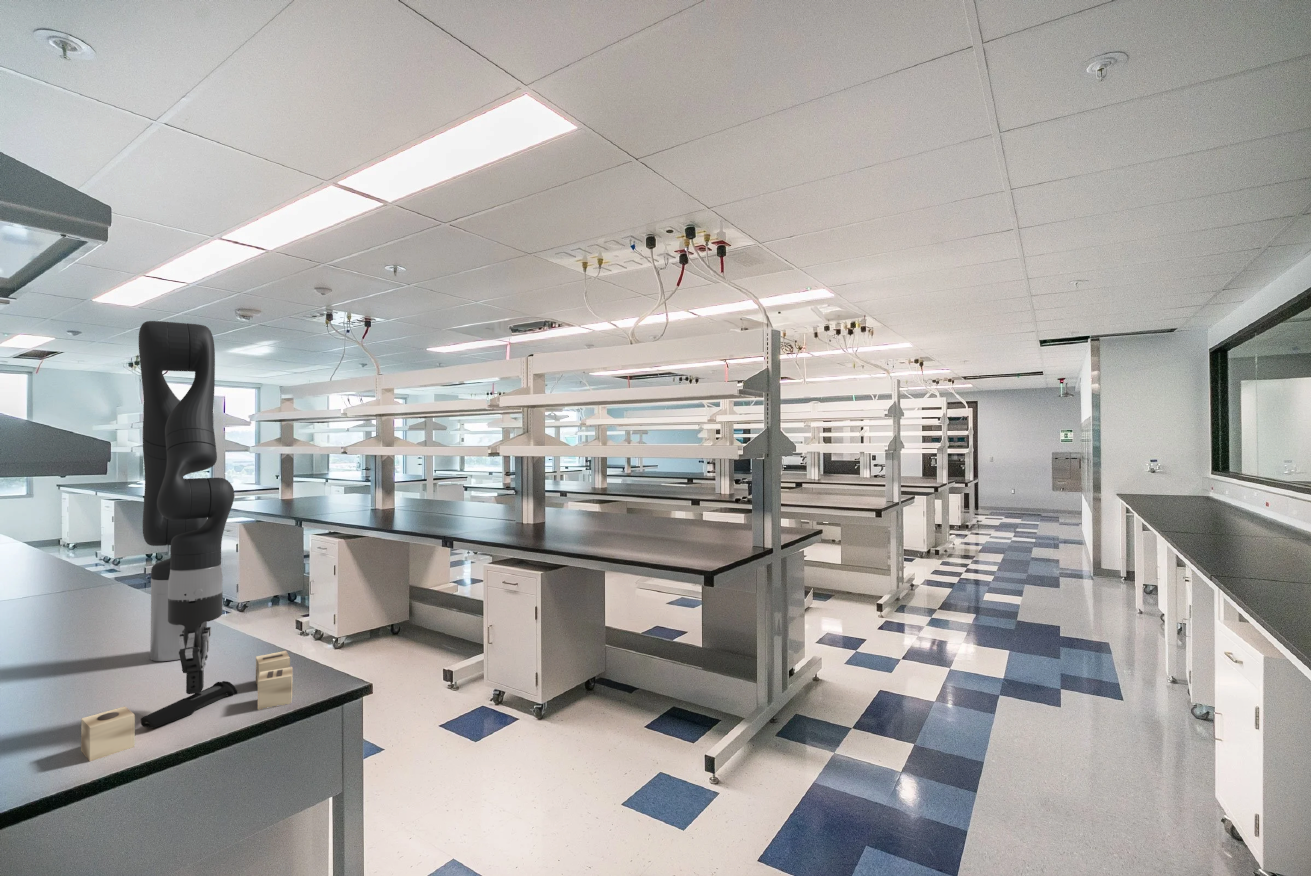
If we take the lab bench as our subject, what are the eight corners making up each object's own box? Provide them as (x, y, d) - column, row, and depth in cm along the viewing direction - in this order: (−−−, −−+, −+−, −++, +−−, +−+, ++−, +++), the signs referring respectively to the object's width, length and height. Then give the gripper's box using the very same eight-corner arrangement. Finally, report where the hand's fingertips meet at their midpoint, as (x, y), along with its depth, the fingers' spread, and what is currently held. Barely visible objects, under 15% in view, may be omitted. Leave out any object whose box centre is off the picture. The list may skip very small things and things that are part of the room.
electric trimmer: (133, 734, 94) (133, 715, 94) (222, 693, 110) (222, 676, 110) (152, 737, 94) (151, 717, 94) (238, 694, 109) (238, 677, 109)
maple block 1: (81, 751, 88) (81, 717, 88) (124, 737, 92) (125, 705, 92) (89, 762, 85) (90, 726, 85) (134, 747, 90) (134, 713, 90)
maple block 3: (259, 699, 106) (260, 671, 106) (292, 693, 109) (292, 666, 109) (257, 710, 102) (257, 680, 102) (291, 703, 105) (291, 675, 105)
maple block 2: (255, 682, 114) (255, 655, 114) (285, 675, 117) (285, 650, 117) (258, 690, 110) (259, 663, 110) (289, 683, 113) (290, 657, 113)
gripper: (176, 586, 106) (175, 682, 106) (159, 604, 95) (158, 712, 95) (227, 582, 110) (226, 674, 110) (216, 598, 98) (215, 701, 98)
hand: (194, 691), depth 102 cm, fingers closed
